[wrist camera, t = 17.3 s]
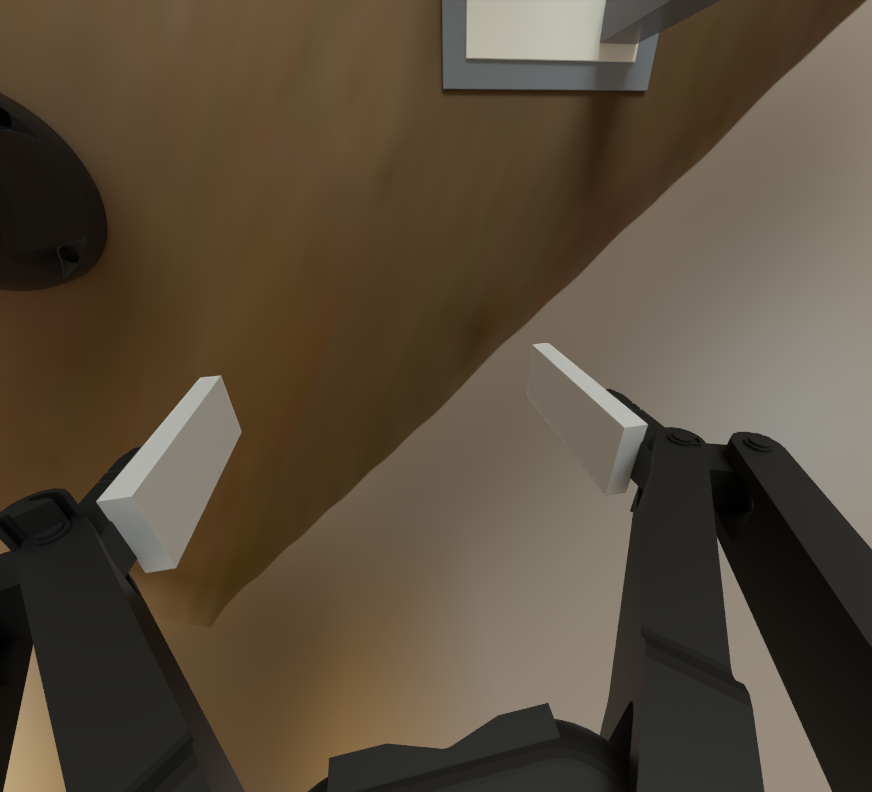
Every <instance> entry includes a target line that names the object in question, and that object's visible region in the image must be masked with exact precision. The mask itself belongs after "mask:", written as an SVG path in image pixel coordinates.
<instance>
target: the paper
mask: <svg viewBox="0 0 872 792" xmlns="http://www.w3.org/2000/svg"><path fill="white" fill-rule="evenodd" d="M441 2H442V79H443V89H474V90H583V91H647V89H648V84H649V79H650V74H651V69H652V64H653V60H654V55H655V50H656V45H657V40H658V35H659V33H657V34H655V35H653V36H651V37H649V38H648V39H646V40H644V41H642V42H640V43H638V44H609V43H600V38H601V31H602V24H603V18H604V11H605V4H606V0H441Z"/></svg>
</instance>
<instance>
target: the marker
mask: <svg viewBox="0 0 872 792" xmlns="http://www.w3.org/2000/svg"><path fill="white" fill-rule="evenodd" d="M719 1H720V0H606V4H605V11H604V18H603V24H602V31H601V38H600V43H609V44H638V43H640V42H642V41H644V40H646V39H648V38H649V37H651V36H653V35H655V34H657V33H659V32H661V31H663V30H665V29H667V28H669V27H671V26H672V25H674V24H676V23H678V22H680V21H682V20H684V19H686V18H688V17H690V16H692V15H694V14H696V13H697V12H699V11H701V10H703V9H705V8H707V7H709V6H711V5H713V4H715V3H717V2H719Z"/></svg>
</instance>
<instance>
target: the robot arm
mask: <svg viewBox="0 0 872 792" xmlns="http://www.w3.org/2000/svg"><path fill="white" fill-rule="evenodd" d="M105 240H106V217H105V211H104V207H103V204H102V201H101V198H100V195H99V192H98V190H97V188H96V186H95V184H94V182H93V180H92V178H91V176H90V174H89V173H88V171H87V169H86V168H85V166H84V165H83V163H82V162H81V161H80V159H79V158H78V157H77V155H76V154H75V153H74V151H73V150H72V149H71V148H70V147H69V146H68V144H67V143H66V142H65V141H64V140H63V139H62V138H61V137H60V136H59V135H58V134H57V133H56V132H55V131H54V130H53V129H52V128H51V127H49V126H48V125H47V124H46V123H45V122H44V121H42V120H41V119H40V118H39V117H37V116H36V115H35V114H33V113H32V112H31V111H29V110H28V109H26V108H25V107H23V106H22V105H20V104H19V103H17V102H15V101H14V100H12V99H10V98H9V97H7V96H5V95H3V94H1V93H0V290H13V291H30V290H40V289H46V288H50V287H54V286H57V285H60V284H63V283H66V282H69V281H72V280H75V279H77V278H79V277H80V276H82V275H84V274H85V273H86V272H88V271H89V270H90V269H91V268H92V267H93V266H94V265H95V264H96V262H97V261H98V259H99V257H100V256H101V253H102V251H103V248H104V245H105ZM526 397H527V399H528V400H529V401H530V403H531V404H532V405H533V406H534V408H535V409H536V410H537V411H538V413H539V414H540V415H541V416H542V417H543V419H544V420H545V421H546V423H548V425H549V426H550V428H551V429H552V430H553V431H554V432H555V434H556V435H557V436H558V437H559V439H560V440H561V441H562V443H563V444H564V445H565V446H566V448H567V449H568V450H569V451H570V452H571V454H572V455H573V456H574V458H575V459H576V460H577V461H578V462H579V464H580V465H581V466H582V468H583V469H584V470H585V471H586V472H587V474H588V475H589V476H590V477H591V479H592V480H593V481H594V482H595V484H596V485H597V486H598V488H599V489H600V490H601V491H602V492H603V493H604V495H606V496H607V495H613V494H619V493H625V492H626V491H627V488H628V484H629V482H630V478H631V479H632V480H633V481H634V482H635V483H636V484H637V485H638V489H637V492H636V495H635V498H634V501H633V504H632V507H631V510H630V511H631V512H633V518H632V526H631V534H630V542H629V548H628V556H627V564H626V571H625V579H624V586H623V593H622V601H621V609H620V617H619V624H618V632H617V639H616V647H615V654H614V661H613V669H612V676H611V684H610V692H609V698H608V703H607V708H606V711H605V716H604V719H603V723H602V728H601V733H600V735H598V734H596V733H594V732H593V731H591V730H589V729H587V728H584V727H582V726H579V725H577V724H574V723H571V722H567V721H563V720H558V719H554V718H553V715H552V712H551V709H550V707H549V704H548V703H546V704H542V705H538V706H534V707H530V708H526V709H522V710H518V711H514V712H510V713H506V714H502V715H498V716H497V717H495V718H494V719H492V720H491V721H489V722H488V723H486V724H485V725H483V726H481V727H480V728H478V729H477V730H475V731H474V732H472V733H471V734H469V735H468V736H466V737H465V738H463V739H462V740H460V741H459V742H457V743H456V744H454V745H453V746H451V747H449V748H445V749H437V748H427V747H416V746H406V745H396V744H383V745H379V746H375V747H371V748H367V749H363V750H359V751H355V752H351V753H347V754H343V755H339V756H335V757H331V758H329V772H328V777H327V778H326V779H324V780H322V781H321V782H319V783H318V784H317V785H315V786H314V787H313V788H312V789H310V790H309V791H308V792H764V786H763V779H762V772H761V764H760V758H759V750H758V743H757V737H756V729H755V722H754V716H753V708H752V704H751V699H750V695H749V692H748V691H747V689H746V687H745V685H744V684H742V683H740V682H738V681H736V680H735V679H734V677H733V675H732V670H731V664H730V655H729V646H728V636H727V627H726V618H725V609H724V599H723V591H722V581H721V572H720V563H719V554H718V545H717V537H718V540H719V542H720V544H721V546H722V548H723V551H724V553H725V555H726V557H727V560H728V562H729V564H730V566H731V568H732V571H733V573H734V575H735V577H736V580H737V582H738V584H739V586H740V588H741V590H742V593H743V595H744V597H745V599H746V601H747V604H748V606H749V608H750V611H751V612H752V615H753V617H754V619H755V621H756V624H757V626H758V628H759V630H760V633H761V635H762V637H763V639H764V641H765V644H766V646H767V648H768V650H769V653H770V655H771V657H772V659H773V661H774V664H775V666H776V668H777V670H778V673H779V675H780V677H781V679H782V681H783V683H784V686H785V688H786V690H787V692H788V694H789V697H790V699H791V701H792V704H793V706H794V708H795V710H796V712H797V715H798V717H799V719H800V721H801V723H802V726H803V728H804V730H805V732H806V734H807V737H808V739H809V741H810V743H811V746H812V748H813V750H814V752H815V754H816V757H817V759H818V761H819V763H820V765H821V768H822V770H823V772H824V774H825V776H826V779H827V781H828V783H829V785H830V788H831V790H832V792H872V549H871V548H870V547H869V546H868V545H867V543H866V542H865V541H864V540H863V539H862V538H861V536H860V535H859V534H858V533H857V532H856V531H855V530H854V528H853V527H852V526H851V525H850V524H849V522H848V521H847V520H846V519H845V518H844V517H843V516H842V514H841V513H840V512H839V511H838V510H837V508H836V507H835V506H834V505H833V504H832V503H831V501H830V500H829V499H828V498H827V497H826V496H825V494H824V493H823V492H822V491H821V490H820V489H819V488H818V486H817V485H816V484H815V483H814V482H813V480H812V479H811V478H810V477H809V476H808V475H807V474H806V472H805V471H804V470H803V469H802V468H801V466H800V465H799V464H798V463H797V462H796V461H795V459H794V458H793V457H792V456H791V455H790V454H789V452H788V451H787V450H786V449H785V448H784V447H783V446H782V445H781V444H779V443H778V442H776V441H774V440H772V439H770V438H769V437H767V436H763V435H761V434H758V433H750V432H737V433H734V434H733V435H732V436H731V438H730V440H729V442H728V444H727V445H720V444H708V443H705V441H704V440H703V439H702V438H700V437H699V436H698V435H696V434H694V433H692V432H690V431H687V430H684V429H680V428H673V427H669V428H665V427H663V426H662V425H661V424H660V423H658V422H657V421H656V420H655V419H653V418H652V417H651V416H650V415H648V414H647V413H646V412H644V411H643V410H640V408H639V407H638V406H637V405H636V404H633V403H632V401H630V400H629V399H628V398H627V397H625V396H624V395H623V394H620V393H618V392H616V391H614V390H611V389H604V388H603V387H602V386H600V385H599V384H598V383H597V382H595V381H594V380H593V379H592V378H590V377H589V376H588V375H587V374H586V373H584V372H583V371H582V370H581V369H580V368H578V367H577V366H576V365H575V364H573V363H572V362H571V361H570V360H568V359H567V358H566V357H565V356H564V355H562V354H561V353H560V352H559V351H558V350H556V349H555V348H554V347H553V346H551V345H550V344H549V343H542V344H533V345H532V352H531V360H530V369H529V379H528V387H527V396H526ZM240 434H241V429H240V426H239V423H238V421H237V418H236V415H235V412H234V410H233V407H232V404H231V402H230V399H229V396H228V393H227V391H226V388H225V385H224V382H223V380H222V377H221V376H211V377H201V378H200V379H199V380H198V381H197V382H196V383H195V384H194V386H193V387H192V388H191V389H190V390H189V392H188V393H187V394H186V395H185V396H184V398H183V399H182V400H181V401H180V402H179V404H178V405H177V406H176V407H175V408H174V409H173V411H172V412H171V413H170V414H169V415H168V417H167V418H166V419H165V420H164V421H163V423H162V424H161V425H160V426H159V427H158V429H157V430H156V431H155V432H154V433H153V434H152V436H151V437H150V438H149V439H148V440H147V442H146V443H145V444H144V445H143V446H142V447H139V448H134V449H132V450H131V451H129V452H128V453H127V454H125V455H124V456H122V457H121V458H119V459H118V460H117V461H116V462H115V464H114V465H113V466H112V467H111V468H110V469H109V470H108V473H106V474H105V475H104V476H103V477H102V478H101V479H100V480H99V481H100V482H99V483H97V484H96V485H95V486H94V487H93V488H92V489H91V491H90V492H89V493H88V494H87V495H86V496H85V497H84V498H83V500H82V501H81V502H80V503H79V504H77V502H76V501H75V500H74V498H73V497H72V496H71V494H70V493H69V492H68V491H66V490H65V489H50V490H45V491H41V492H38V493H35V494H32V495H29V496H27V497H25V498H23V499H21V500H19V501H17V502H15V503H13V504H11V505H10V506H8V507H7V508H6V509H4V510H3V511H1V512H0V539H1V540H2V541H3V543H4V544H5V545H6V546H7V547H8V548H9V549H10V550H11V551H8V552H5V553H2V554H0V792H3V788H4V784H5V779H6V774H7V769H8V765H9V760H10V755H11V750H12V745H13V740H14V735H15V731H16V725H17V721H18V715H19V711H20V706H21V701H22V696H23V691H24V687H25V682H26V677H27V672H28V667H29V662H30V657H31V652H32V647H33V644H34V648H35V653H36V658H37V662H38V666H39V671H40V675H41V680H42V684H43V689H44V693H45V698H46V702H47V707H48V711H49V716H50V720H51V725H52V729H53V733H54V738H55V743H56V747H57V752H58V756H59V761H60V765H61V770H62V774H63V778H64V783H65V788H66V792H245V791H244V789H243V787H242V785H241V783H240V781H239V780H238V778H237V776H236V774H235V772H234V770H233V768H232V766H231V764H230V762H229V760H228V759H227V757H226V755H225V753H224V751H223V749H222V747H221V745H220V743H219V741H218V740H217V738H216V736H215V734H214V732H213V730H212V728H211V726H210V724H209V722H208V720H207V719H206V717H205V715H204V713H203V711H202V709H201V707H200V705H199V703H198V701H197V700H196V698H195V696H194V694H193V692H192V690H191V688H190V686H189V684H188V682H187V681H186V679H185V677H184V675H183V673H182V671H181V669H180V667H179V665H178V663H177V661H176V660H175V658H174V656H173V654H172V652H171V650H170V648H169V646H168V644H167V643H166V641H165V639H164V637H163V635H162V633H161V631H160V629H159V627H158V625H157V623H156V622H155V620H154V618H153V616H152V614H151V612H150V610H149V608H148V606H147V604H146V602H145V601H144V599H143V597H142V595H141V593H140V591H139V589H138V587H137V585H136V583H135V582H134V580H133V578H132V577H131V576H130V574H129V571H130V569H131V568H132V566H133V564H134V563H135V561H136V560H137V561H138V563H139V564H140V565H141V567H142V568H143V570H144V571H145V573H149V572H155V571H161V570H167V569H173V568H176V567H177V565H178V563H179V560H180V558H181V556H182V554H183V552H184V550H185V548H186V546H187V544H188V542H189V540H190V538H191V536H192V534H193V531H194V529H195V527H196V525H197V523H198V521H199V519H200V517H201V515H202V513H203V511H204V509H205V507H206V505H207V502H208V500H209V498H210V496H211V494H212V492H213V490H214V488H215V486H216V484H217V482H218V480H219V478H220V476H221V473H222V471H223V469H224V467H225V465H226V463H227V461H228V459H229V457H230V455H231V453H232V451H233V449H234V447H235V445H236V442H237V440H238V438H239V436H240Z"/></svg>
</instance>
